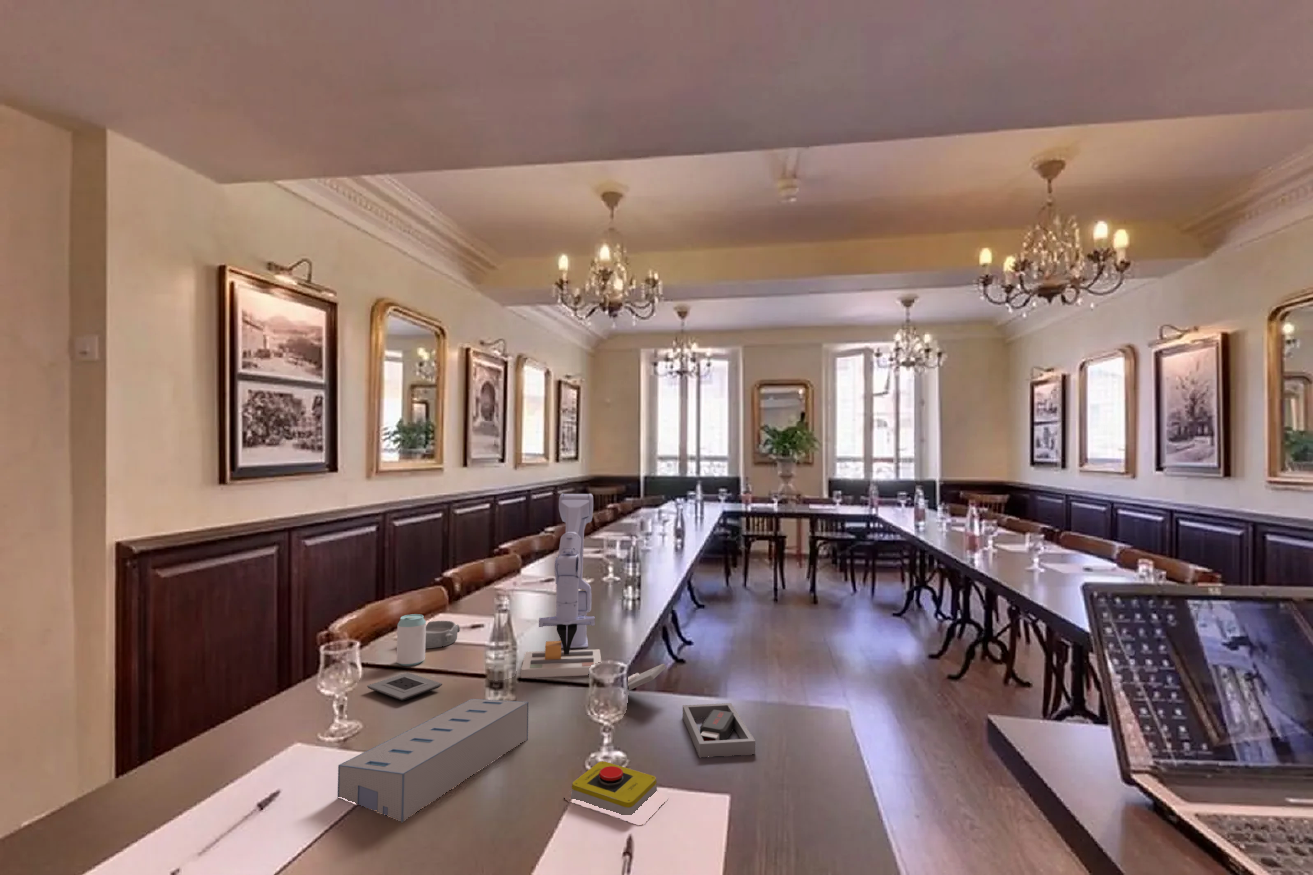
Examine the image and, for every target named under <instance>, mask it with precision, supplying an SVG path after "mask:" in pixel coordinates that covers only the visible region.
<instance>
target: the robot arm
mask: <svg viewBox="0 0 1313 875" xmlns="http://www.w3.org/2000/svg"><path fill="white" fill-rule="evenodd" d="M558 511H559V515H560V518H561V521H562V523H563V522H564V523H565V533H563V534H562V535H561V536H560V541H559V548H558V557H555V559H554V575H555V576H554V577H555V585H556V595H555V597H556V598H555V600H556V602H555V608H556V609H555V616H548V617H546V616H545V617H539V618H538V628H543V627H556V632H557V634H558V637H559V639H560V640H559V641H561V649H562V651H564V655H569V651H570V650H571V649H575V648H577V649H578V648H580V649H581V648H582V649H583V648H588V647H589V643H588V642H589V641H588V636H587V627H588V626H592V627H593V626H596V621H595V620H596V618H595V616H588V613H590V612H591V611H592V605H593V604H592V600H593V596H592V595H593V593H592V587H591V584H590V583H588V582H587V581H586V580H584V579H583V578H584V577H583V575H584V573H583V572H584V549H585V548H584V544H585V543H584V542H585V540H584V539H585V529H586V526H587V524H589V523H591V522H593V513H594V496H593V494H592V493H563V492H562V493H560V495H559V499H558Z"/></svg>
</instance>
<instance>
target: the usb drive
mask: <svg viewBox="0 0 1313 875" xmlns="http://www.w3.org/2000/svg"><path fill="white" fill-rule="evenodd" d="M733 714H734V713H733V712H727V711H721V710H712V711H711V712H710V713H709V715H708V716H707V718H704V721H703V722H702V724H701V725H700V727H699V732H700V734H701V736H702V738H703V740H704V741H716V740H729V737H730V736H731V734H732V732H733V730H735V729H734V715H733Z"/></svg>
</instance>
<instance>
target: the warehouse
mask: <svg viewBox="0 0 1313 875" xmlns="http://www.w3.org/2000/svg"><path fill="white" fill-rule="evenodd" d="M529 704H530V703H529V701H517V700H501V699H500V700H498V699H481V698H480V699H479V698H470V699H469V700H466V701H464V702H463V703H460V704H458V705H455V706H454V707H452V708H450V709H448V710H446V711H444V712H443V713H440V714H438V715H436V716H435V717H432V718H430V719H428V720H426V721H424V722H422V723H420V724H418V725H416V726H414V727H413V728H410V729H408V730H406V731H403V732H402V733H400V734H398V735H397V736H394V737H392V738H390V739H388V740H386V741H384V742H382V743H379V744H378V745H376V746H375V747H372V748H370V749H368V750H365V751H364V752H362V753H360V754H358V755H356V756H354V757H352V758H350V759H347V760H346V761H344V762H342V763H340V764H338V765H337V767H338V768H337V798H338V797H342V798H345V799H347V800H348V801H352V802H355V803H356V804H357V805H358V804H359V805H361V806H360V807H362V806H364V807H366V808H365V809H367V808H369V809H368V810H370V809H372V810H377V812H379V813H382V814H385V815H388V816H390V817H392V818H395V819H397V820H398V821H397V820H396V821H397V822H399V821H401V822H400V823H402V822H403V821H404V822H405V821H406V820H405V819H407V820H408V819H409V818H408V817H409V816H411V815H412V814H414V813H415V812H416V811H418V810H420V809H421V808H422V807H424V806H426V805H428V804H429V803H430V802H432V801H434V802H436V799H437V798H438V799H440V798H442V797H443V796H444V795H445V794H444V793H446V792H448V791H449V790H450V789H452V788H453V787H455V786H457V785H458V784H459V783H461V782H463V781H464V780H465V779H466V778H469V777H470V776H471V775H472V774H475V773H476V772H477V771H478V770H480V769H482V768H483V767H485V766H486V765H488V764H490V763H491V762H492V761H494V760H496V759H497V758H498V757H499V756H501V755H503V754H505V753H506V752H508V751H510V750H511V749H513V748H514V747H515V746H517V747H518V745H519V746H520V745H521V744H520V743H522V742H523V743H525V742H526V741H528V740H529ZM524 741H525V742H524ZM523 743H522V744H523ZM514 749H515V748H514ZM514 749H513V750H514ZM511 751H512V750H511ZM511 751H510V752H511ZM508 753H509V752H508ZM505 755H506V754H505ZM497 760H498V759H497ZM497 760H496V761H497ZM494 762H495V761H494ZM491 764H492V763H491ZM491 764H490V765H491ZM488 766H489V765H488ZM485 768H486V767H485ZM482 770H483V769H482ZM476 774H477V773H476ZM476 774H475V775H476ZM470 778H471V777H470ZM470 778H469V779H470ZM464 782H465V781H464ZM464 782H463V783H464ZM461 784H462V783H461ZM458 786H459V785H458ZM458 786H457V787H458ZM455 788H456V787H455ZM452 790H453V789H452ZM449 792H450V791H449ZM449 792H448V793H449ZM443 794H444V795H443ZM446 794H447V793H446ZM442 795H443V796H442ZM439 797H440V798H439ZM438 799H437V800H438ZM432 803H433V802H432ZM357 805H356V806H357ZM429 805H430V804H429ZM429 805H428V806H429ZM364 807H363V808H364ZM426 807H427V806H426ZM372 810H371V811H372ZM420 811H421V810H420ZM377 812H376V813H377ZM385 815H384V816H385ZM414 815H415V814H414ZM411 817H412V816H411ZM404 822H403V823H404ZM403 823H402V824H403Z"/></svg>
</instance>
